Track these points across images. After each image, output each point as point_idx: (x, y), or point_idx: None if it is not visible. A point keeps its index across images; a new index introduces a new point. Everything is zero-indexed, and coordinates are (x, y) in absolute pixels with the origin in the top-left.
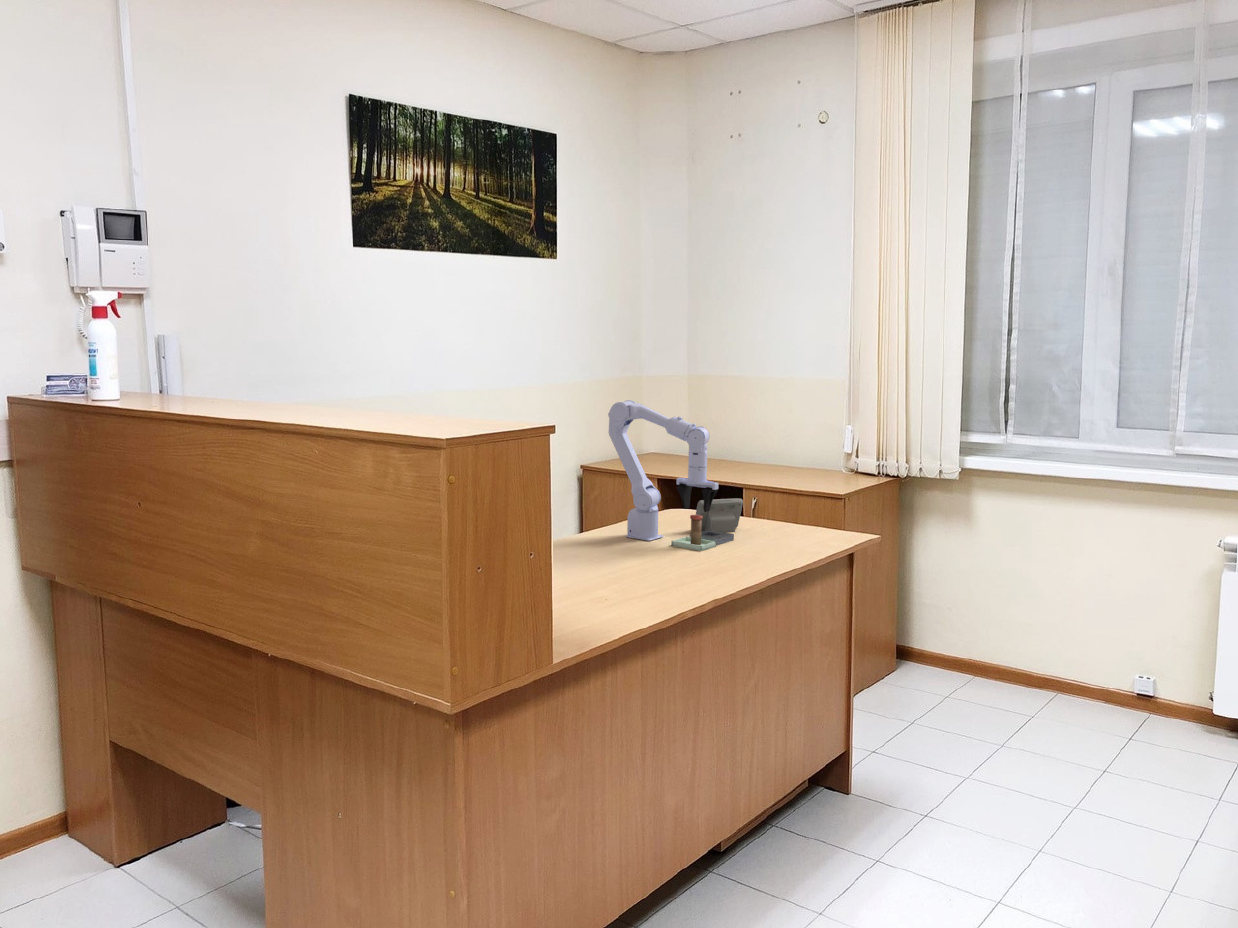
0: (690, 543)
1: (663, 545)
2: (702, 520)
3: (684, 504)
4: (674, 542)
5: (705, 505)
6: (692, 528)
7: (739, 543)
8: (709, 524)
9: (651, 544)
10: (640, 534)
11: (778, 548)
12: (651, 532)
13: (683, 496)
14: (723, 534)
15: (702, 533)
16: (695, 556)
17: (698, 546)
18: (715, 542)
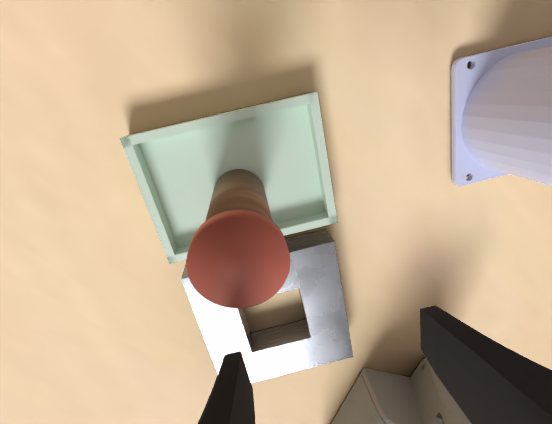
0: (263, 181)
1: (343, 63)
2: (427, 400)
3: (447, 325)
4: (296, 96)
5: (213, 399)
6: (236, 193)
7: (170, 355)
8: (388, 398)
9: (401, 24)
10: (532, 50)
11: (21, 413)
12: (490, 96)
13: (515, 381)
14: (242, 355)
15: (314, 301)
16: (33, 15)
17: (141, 133)
18: (168, 257)
